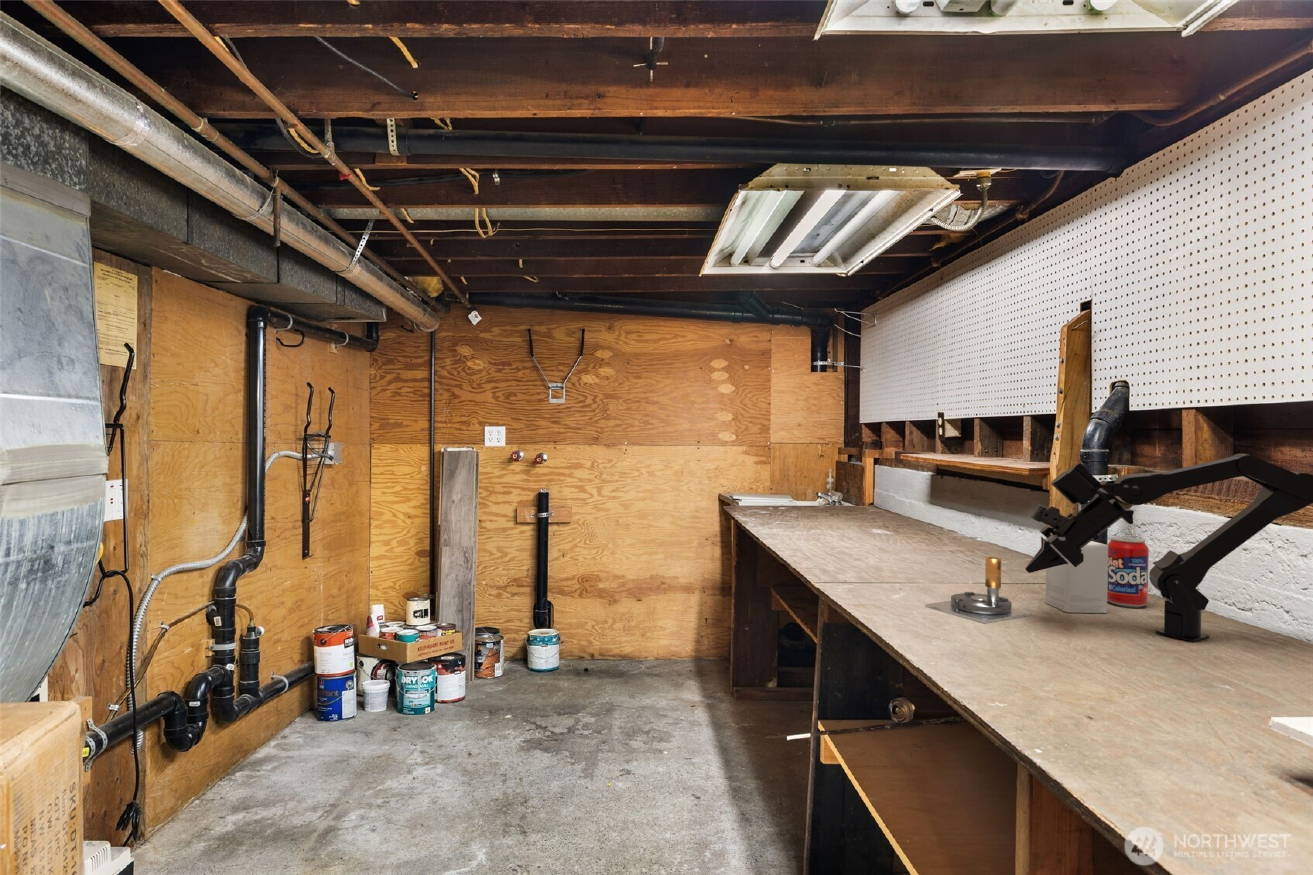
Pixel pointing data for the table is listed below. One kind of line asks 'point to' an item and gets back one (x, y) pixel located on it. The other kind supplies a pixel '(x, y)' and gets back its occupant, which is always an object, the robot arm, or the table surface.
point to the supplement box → (1080, 582)
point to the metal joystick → (991, 600)
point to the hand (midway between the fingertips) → (1026, 570)
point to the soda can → (1127, 572)
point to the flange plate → (977, 617)
